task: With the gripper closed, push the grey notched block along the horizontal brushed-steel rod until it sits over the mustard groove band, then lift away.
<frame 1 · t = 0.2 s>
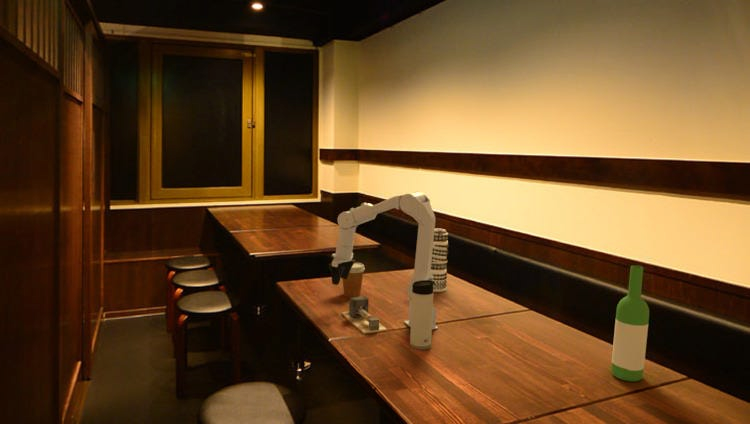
hand: (339, 281, 188), 10 cm above the table, tool pointing down, fingers open, 7 cm apart
wine bottle: (626, 377, 141), on the table
travel mug: (421, 346, 158), on the table
pipe stand: (363, 321, 177), on the table
decorative candle: (436, 289, 219), on the table
disposable coffee cup: (352, 295, 208), on the table
grey notched block: (359, 306, 181), point 4 cm above the table, slide at 0.0 cm
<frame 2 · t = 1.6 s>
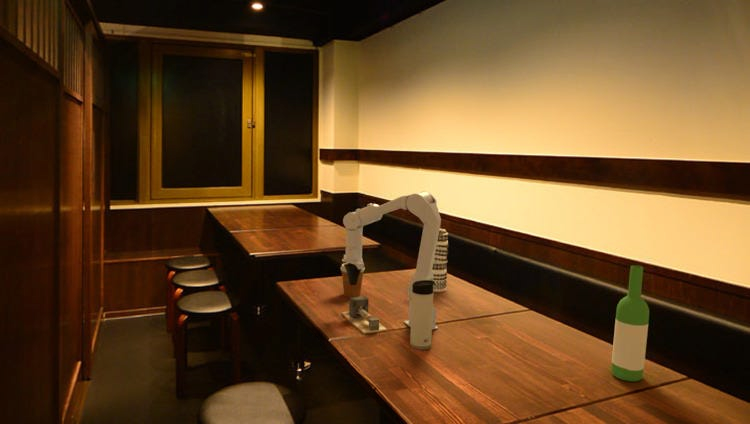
hand: (353, 284, 185), 10 cm above the table, tool pointing down, fingers closed
nothing on the table moved.
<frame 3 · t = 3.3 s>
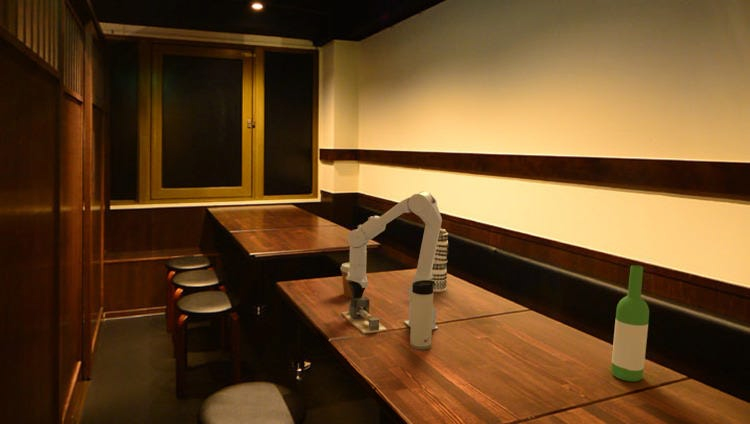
hand: (357, 302, 182), 5 cm above the table, tool pointing down, fingers closed
grey notched block: (359, 307, 180), point 4 cm above the table, slide at 0.8 cm, touching gripper
everything else where it was.
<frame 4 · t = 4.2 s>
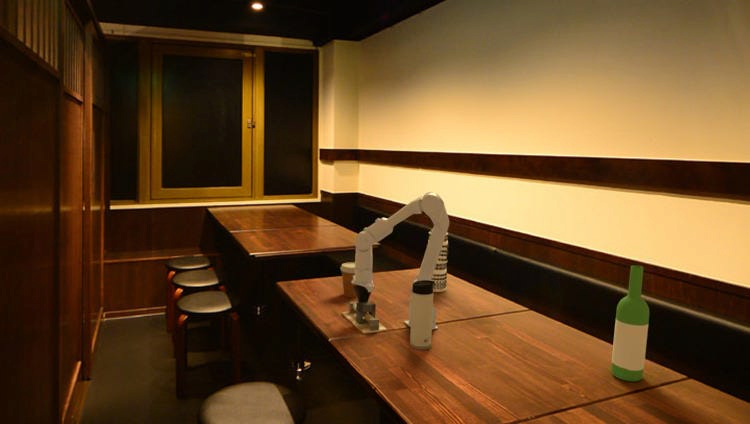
hand: (362, 307, 177), 5 cm above the table, tool pointing down, fingers closed
grey notched block: (365, 312, 175), point 4 cm above the table, slide at 6.0 cm, touching gripper
everything else where it was.
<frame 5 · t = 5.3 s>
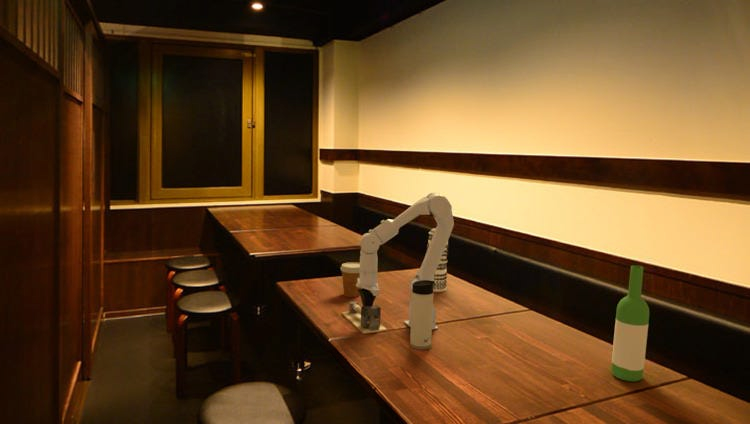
hand: (367, 311, 174), 5 cm above the table, tool pointing down, fingers closed
grey notched block: (370, 316, 171), point 4 cm above the table, slide at 10.2 cm, touching gripper
everything else where it was.
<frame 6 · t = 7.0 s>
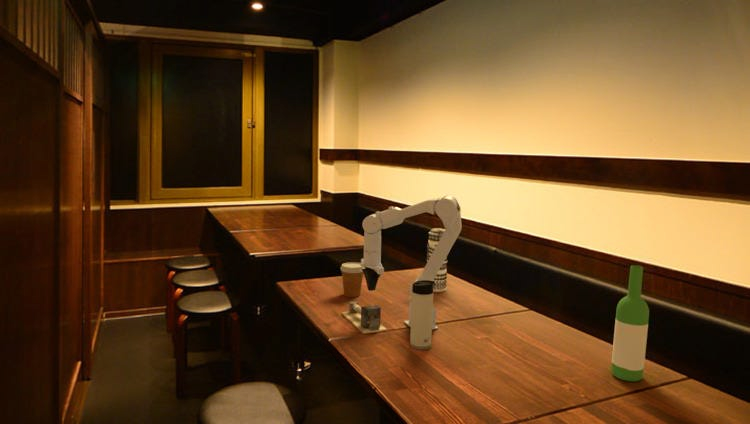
hand: (371, 290, 179), 10 cm above the table, tool pointing down, fingers closed
grey notched block: (370, 316, 171), point 4 cm above the table, slide at 10.2 cm
everything else where it was.
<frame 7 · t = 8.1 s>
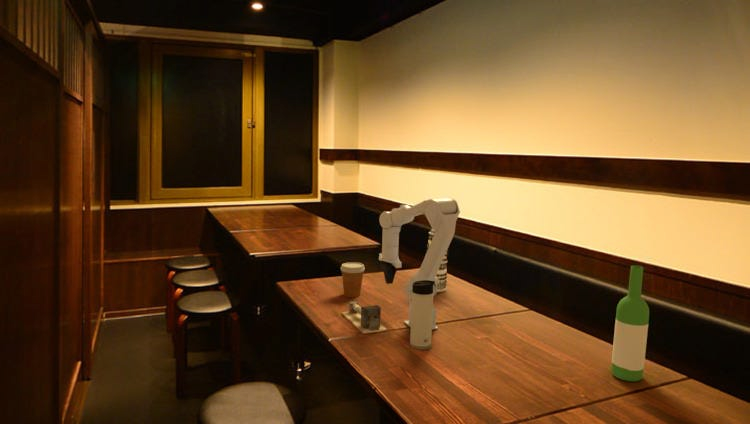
hand: (389, 283, 187), 10 cm above the table, tool pointing down, fingers closed
nothing on the table moved.
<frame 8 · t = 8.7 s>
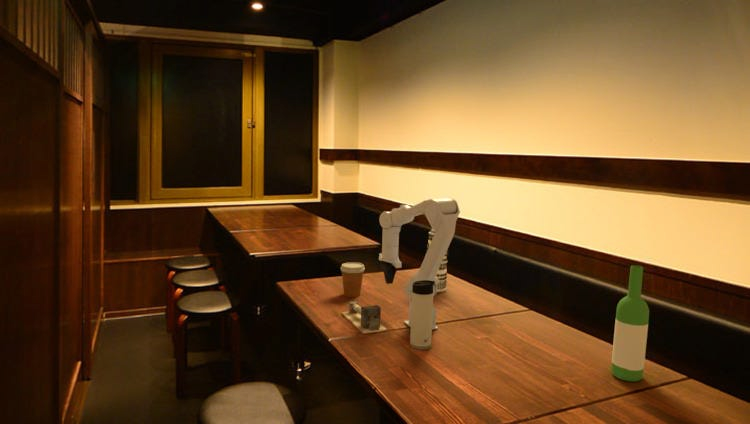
hand: (389, 283, 187), 10 cm above the table, tool pointing down, fingers closed
nothing on the table moved.
at the end: grey notched block slide at 10.2 cm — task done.
